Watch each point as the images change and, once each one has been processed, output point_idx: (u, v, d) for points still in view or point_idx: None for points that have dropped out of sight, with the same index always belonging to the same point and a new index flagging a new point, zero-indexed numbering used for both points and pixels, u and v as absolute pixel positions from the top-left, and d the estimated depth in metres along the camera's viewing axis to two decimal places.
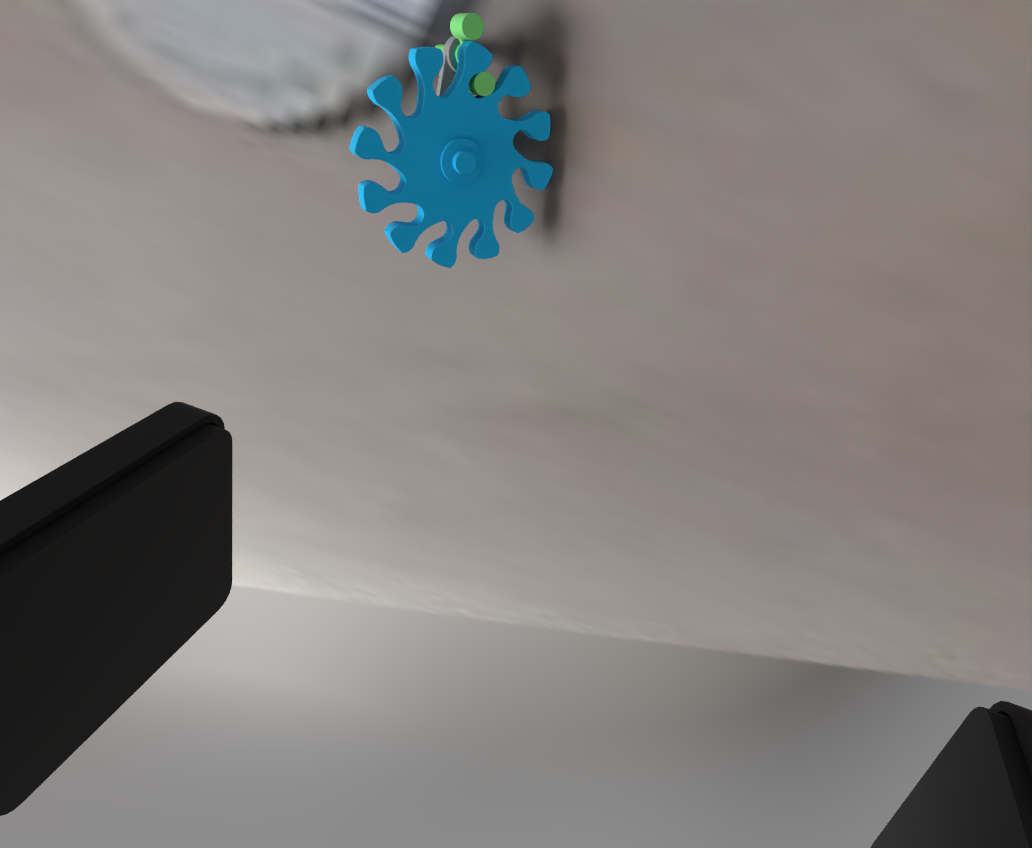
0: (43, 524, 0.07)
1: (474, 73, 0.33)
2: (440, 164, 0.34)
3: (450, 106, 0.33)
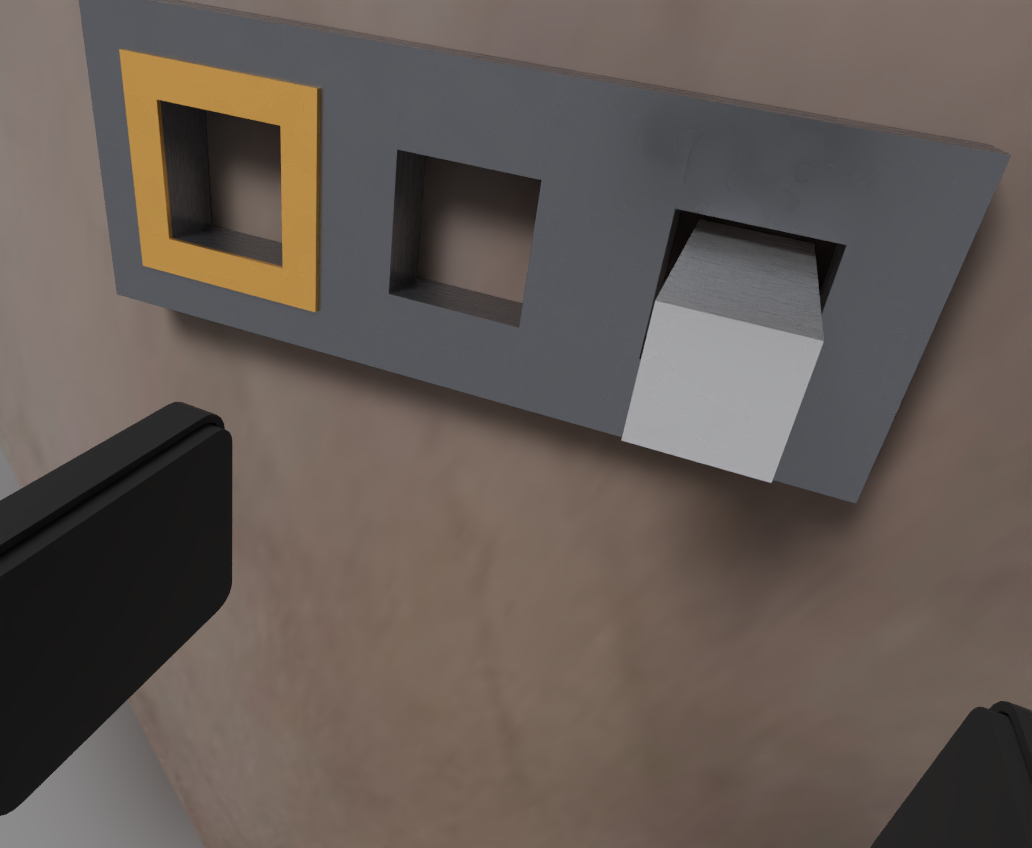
0: (43, 524, 0.07)
1: None
2: None
3: None
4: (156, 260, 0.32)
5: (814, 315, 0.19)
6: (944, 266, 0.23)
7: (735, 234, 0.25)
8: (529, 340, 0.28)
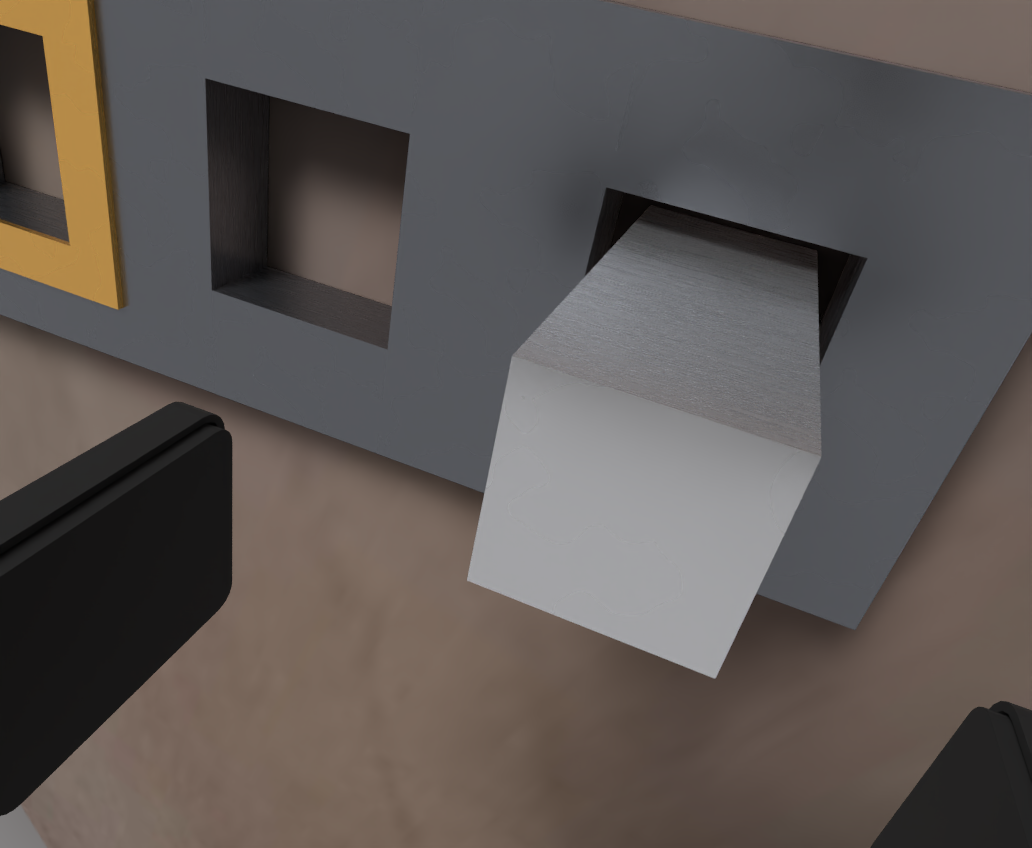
0: (43, 524, 0.07)
1: None
2: None
3: None
4: None
5: (807, 391, 0.10)
6: (1021, 300, 0.14)
7: (699, 231, 0.17)
8: (402, 368, 0.20)
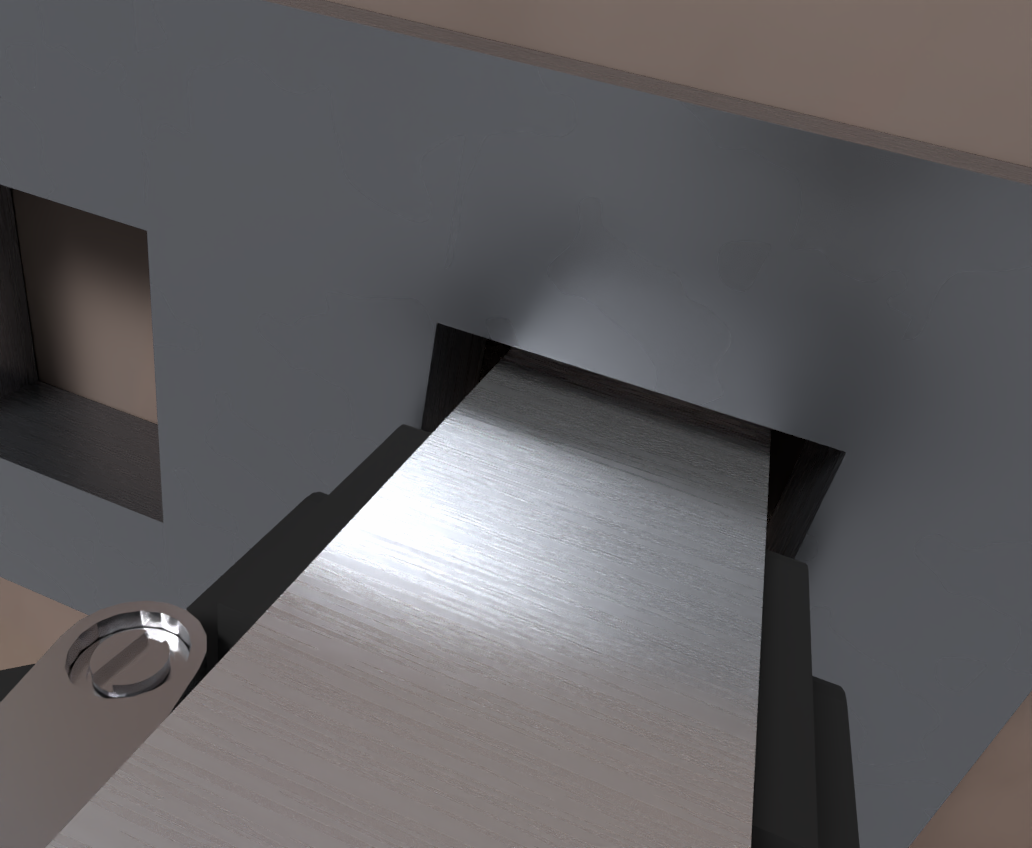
0: None
1: None
2: None
3: None
4: None
5: None
6: None
7: (594, 378, 0.11)
8: (186, 548, 0.14)
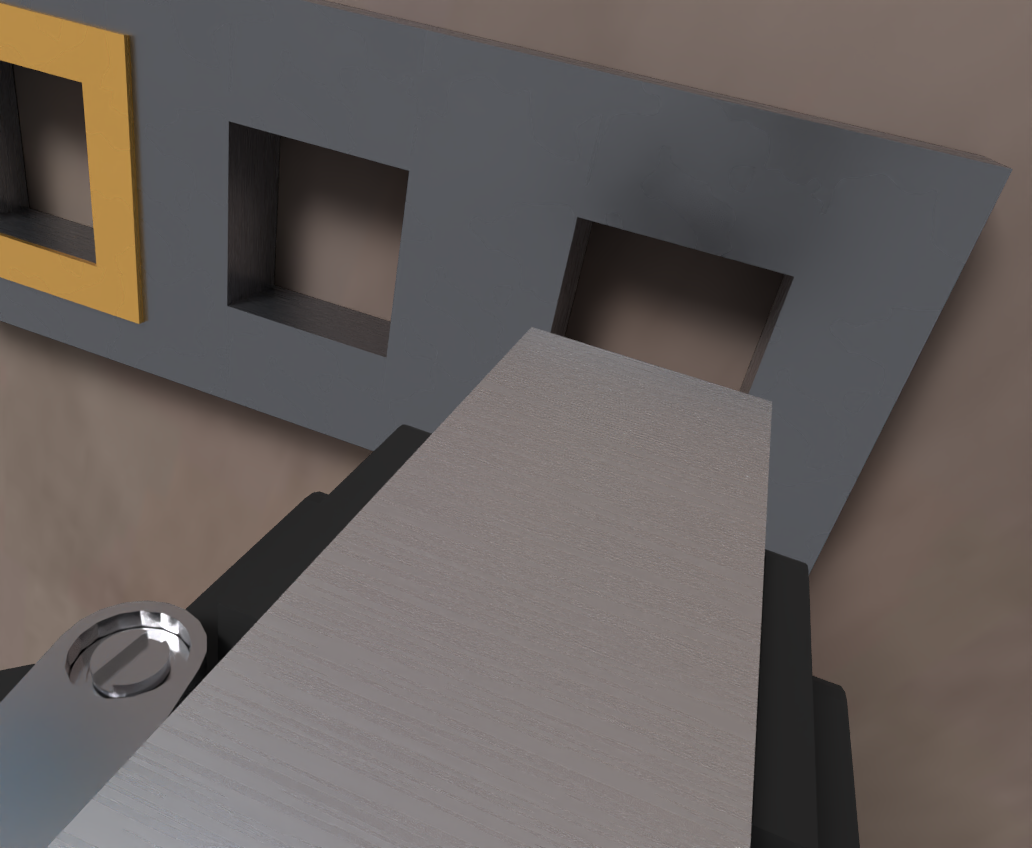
0: None
1: None
2: None
3: None
4: None
5: None
6: (918, 311, 0.17)
7: (594, 378, 0.11)
8: (399, 374, 0.22)
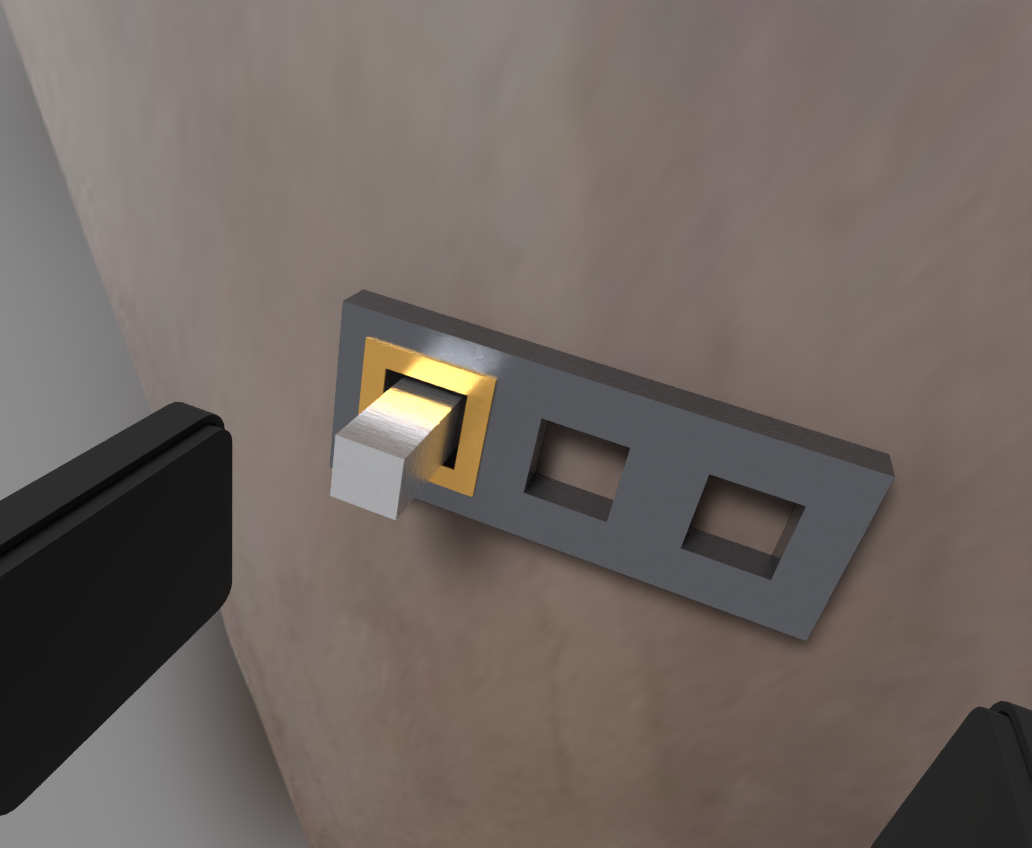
0: (43, 524, 0.07)
1: None
2: None
3: None
4: None
5: (416, 442, 0.40)
6: (859, 524, 0.40)
7: None
8: (612, 529, 0.45)
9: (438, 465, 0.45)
